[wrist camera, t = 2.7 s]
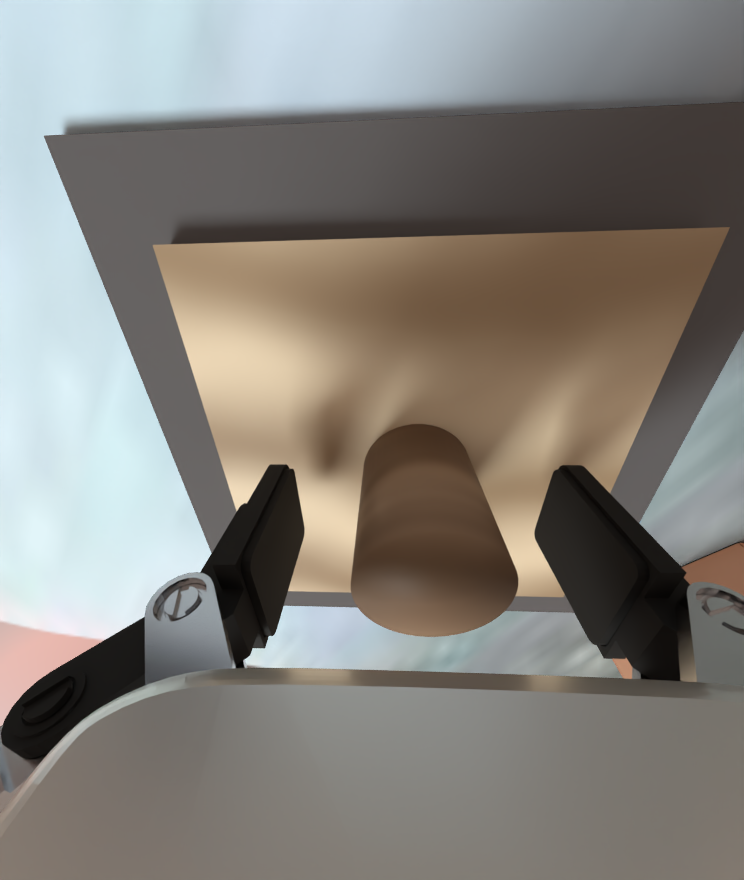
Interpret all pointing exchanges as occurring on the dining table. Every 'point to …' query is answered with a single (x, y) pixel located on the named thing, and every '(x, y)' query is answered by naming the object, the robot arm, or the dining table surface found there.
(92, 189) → the rubber mat
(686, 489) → the dining table surface
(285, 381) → the beech lid
